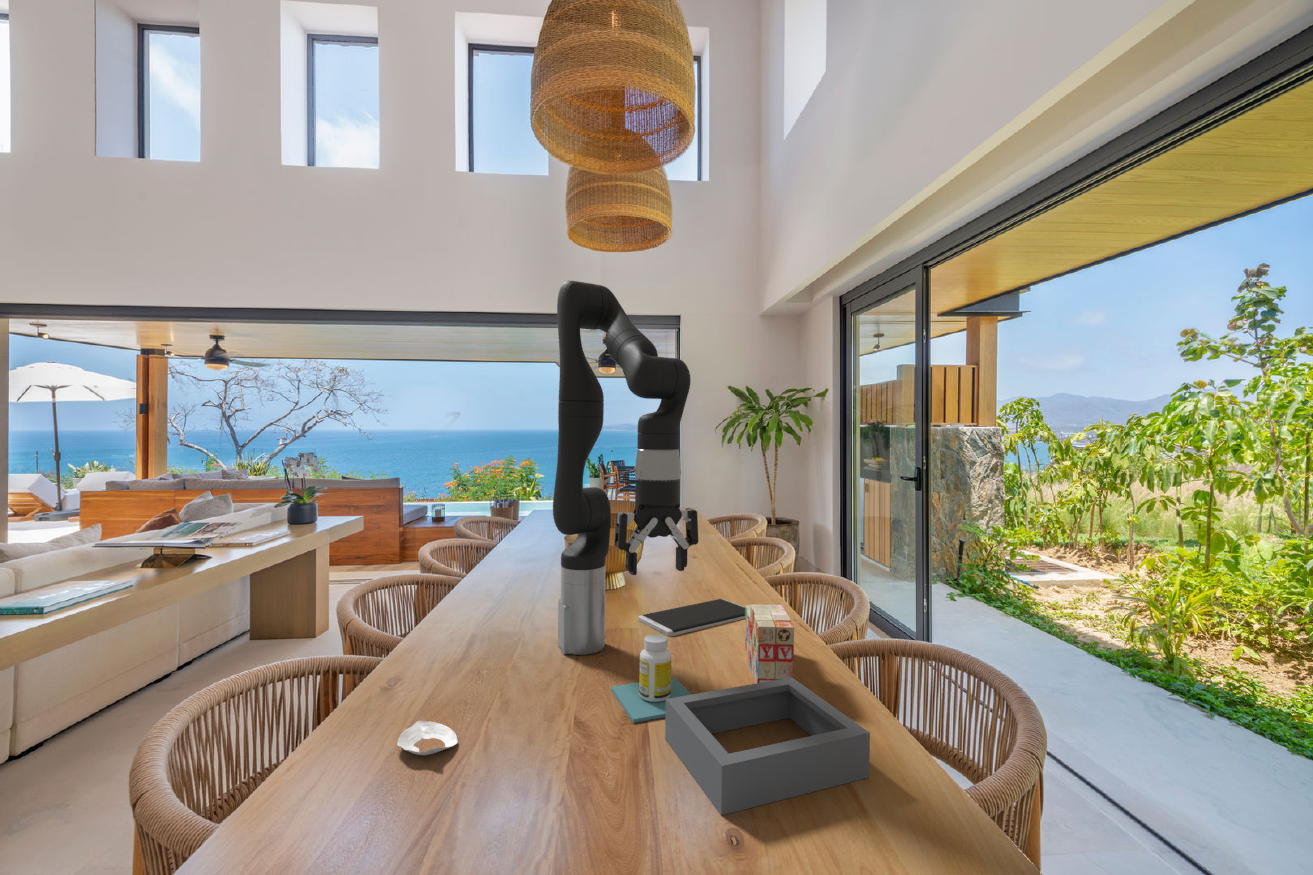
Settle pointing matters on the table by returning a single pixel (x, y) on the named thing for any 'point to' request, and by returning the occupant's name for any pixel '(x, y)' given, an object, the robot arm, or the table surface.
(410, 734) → the white seashell fragment
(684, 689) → the mat
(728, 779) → the box
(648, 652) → the supplement bottle
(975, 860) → the table surface
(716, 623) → the smartphone
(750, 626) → the stack of blocks
